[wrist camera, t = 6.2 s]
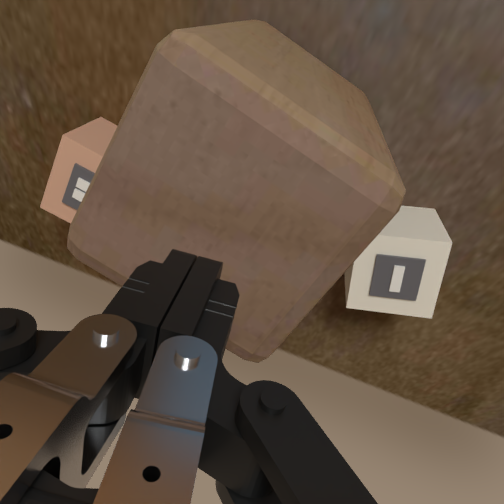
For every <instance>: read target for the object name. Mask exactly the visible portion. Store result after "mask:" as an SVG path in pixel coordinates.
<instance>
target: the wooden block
mask: <svg viewBox="0 0 504 504" xmlns="http://www.w3.org/2000/svg"><path fill="white" fill-rule="evenodd" d="M405 193H406V190H405V187H404V185H403V182H402V180H401V177H400V175H399V173H398V170H397V168H396V165H395V163H394V161H393V158H392V156H391V153H390V151H389V148H388V146H387V144H386V141H385V139H384V136H383V134H382V131H381V129H380V127H379V124H378V122H377V119H376V117H375V115H374V112H373V110H372V107H371V105H370V102H369V101H368V99H367V97H366V95H365V94H364V92H363V91H361V90H360V89H358V88H357V87H356V86H354V85H353V84H351V83H350V82H349V81H347V80H346V79H344V78H343V77H342V76H340V75H339V74H338V73H336V72H335V71H333V70H332V69H331V68H329V67H328V66H326V65H325V64H324V63H322V62H321V61H319V60H318V59H317V58H315V57H314V56H312V55H311V54H310V53H308V52H307V51H306V50H304V49H303V48H301V47H300V46H299V45H297V44H296V43H294V42H293V41H292V40H290V39H289V38H287V37H286V36H285V35H283V34H282V33H281V32H279V31H278V30H276V29H275V28H274V27H272V26H271V25H269V24H268V23H267V22H264V21H259V20H246V21H238V22H231V23H223V24H215V25H208V26H200V27H192V28H185V29H177V30H173V31H172V32H171V33H170V34H169V35H168V36H166V37H165V38H164V39H163V40H162V41H160V42H159V43H158V44H157V45H156V47H155V49H154V51H153V53H152V55H151V58H150V60H149V62H148V64H147V66H146V68H145V70H144V72H143V74H142V76H141V78H140V81H139V83H138V85H137V87H136V89H135V91H134V93H133V95H132V97H131V99H130V101H129V103H128V106H127V108H126V110H125V112H124V114H123V116H122V118H121V120H120V122H119V124H118V126H117V129H116V131H115V133H114V135H113V137H112V139H111V141H110V143H109V145H108V147H107V149H106V151H105V154H104V156H103V158H102V160H101V162H100V164H99V166H98V168H97V170H96V172H95V174H94V176H93V179H92V181H91V183H90V185H89V187H88V189H87V191H86V193H85V195H84V197H83V199H82V202H81V204H80V206H79V208H78V210H77V212H76V214H75V216H74V218H73V220H72V222H71V224H70V228H69V233H68V242H67V248H68V249H69V251H70V252H71V253H72V254H73V255H74V256H75V257H76V259H77V260H79V261H81V262H82V263H84V264H86V265H87V266H89V267H91V268H92V269H94V270H96V271H97V272H99V273H101V274H102V275H104V276H106V277H107V278H109V279H111V280H112V281H114V282H116V283H117V284H119V285H121V286H122V287H123V285H124V283H125V282H126V281H127V279H129V277H130V275H131V274H132V273H133V271H134V270H135V269H136V267H138V266H140V265H142V264H144V263H146V262H148V261H150V260H151V261H155V262H159V263H162V264H163V262H164V261H165V259H166V258H167V256H168V255H169V253H170V252H171V250H172V249H176V250H179V251H183V252H187V253H190V254H194V255H197V258H198V256H201V257H205V258H209V259H212V260H216V261H220V262H223V267H222V272H221V276H220V279H221V280H225V281H228V282H232V283H236V286H237V289H238V292H239V295H240V296H239V300H238V304H237V308H236V311H235V315H234V319H233V323H232V327H231V331H230V335H229V338H228V341H227V345H226V349H227V350H229V351H231V352H232V353H234V354H236V355H237V356H239V357H241V358H242V359H244V360H248V361H253V362H257V363H258V362H260V361H262V360H264V359H266V358H268V357H269V356H270V355H271V354H272V353H273V352H274V351H275V350H276V349H277V348H278V347H279V346H280V345H281V344H282V342H283V341H284V340H285V339H286V338H287V337H288V336H289V334H290V333H291V332H292V331H293V330H294V329H295V328H296V327H297V325H298V324H299V323H300V322H301V321H302V320H303V319H304V318H305V316H306V315H307V314H308V313H309V312H310V311H311V310H312V309H313V307H314V306H315V305H316V304H317V303H318V302H319V301H320V300H321V298H322V297H323V296H324V295H325V294H326V293H327V292H328V291H329V289H330V288H331V287H332V286H333V285H334V284H335V283H336V282H337V280H338V279H339V278H340V277H341V276H342V275H343V274H344V273H345V271H346V270H347V269H348V268H349V267H350V266H351V265H352V264H353V262H354V261H355V260H356V259H357V258H358V257H359V256H360V255H361V253H362V252H363V251H364V250H365V249H366V248H367V247H368V246H369V244H370V243H371V242H372V241H373V240H374V239H375V238H376V236H377V235H378V234H379V233H380V232H381V231H382V230H383V229H384V227H385V226H386V225H387V224H388V223H389V222H390V221H391V220H392V218H393V217H394V216H395V215H396V214H397V213H398V212H399V210H400V207H401V204H402V201H403V199H404V196H405Z"/></svg>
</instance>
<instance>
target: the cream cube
mask: <svg viewBox="0 0 504 504" xmlns="http://www.w3.org/2000/svg"><path fill="white" fill-rule="evenodd" d="M451 246H452V241H451V239H450V237H449V235H448V234H447V232H446V230H445V228H444V226H443V224H442V222H441V220H440V218H439V216H438V214H437V212H436V210H435V209H430V208H420V207H410V206H401V207H400V210H399V212H398V213H397V214H396V215H395V216H394V217H393V218H392V220H391V221H390V222H389V223H388V224H387V225H386V226H385V227H384V229H383V230H382V231H381V232H380V233H379V234H378V235H377V236H376V238H375V239H374V240H373V241H372V242H371V243H370V244H369V246H368V247H367V248H366V249H365V250H364V251H363V252H362V253H361V255H360V256H359V257H358V258H357V259H356V260H355V261H354V262H353V264H352V265H351V266H350V267H349V268H348V269H347V270H346V271H345V273H344V275H345V294H346V308H351V309H359V310H367V311H375V312H383V313H391V314H400V315H408V316H416V317H424V318H432V315H433V311H434V308H435V304H436V300H437V297H438V293H439V290H440V286H441V282H442V279H443V275H444V271H445V268H446V264H447V260H448V257H449V253H450V249H451Z"/></svg>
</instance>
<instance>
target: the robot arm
mask: <svg viewBox="0 0 504 504" xmlns="http://www.w3.org/2000/svg"><path fill="white" fill-rule="evenodd" d="M222 267H223V262H220V261H216V260H212V259H209V258H205V257H201V256H198V258H197V255H194V254H190V253H187V252H183V251H179V250H176V249H172V250H171V252H170V253H169V255H168V256H167V258H166V259H165V261H164V262H163V264H162V263H159V262H155V261H151V260H150V261H148V262H146V263H144V264H142V265H140V266H138V267H136V269H135V270H134V271H133V273H132V274H131V275H130V277H129V279H127V281H126V282H125V283H124V285H123V287H121V289H120V290H119V291H118V293H117V294H116V295H115V297H114V298H113V300H112V301H111V302H110V304H109V305H108V306H107V307H106V309H105V310H104V312H103V313H102V314H98V315H93V316H89V317H87V318H85V319H83V320H82V321H80V322H79V323H78V324H77V325H76V326H75V327H74V329H72V330H71V331H42V330H37V324H36V321H35V319H34V318H33V317H32V316H31V315H30V314H29V313H27V312H25V311H22V310H18V309H13V308H0V504H190V503H191V498H192V493H193V488H194V483H195V478H196V473H197V468H199V469H201V470H202V471H204V472H205V473H207V474H208V475H210V476H211V477H213V478H214V479H216V490H217V492H218V495H219V497H220V499H221V501H222V503H223V504H377V502H376V501H375V499H374V498H373V497H372V495H371V494H370V493H369V491H368V490H367V489H366V487H365V486H364V485H363V483H362V482H361V481H360V479H359V478H358V477H357V475H356V474H355V473H354V471H353V470H352V469H351V468H350V466H349V465H348V463H347V462H346V461H345V459H344V458H343V457H342V455H341V454H340V453H339V451H338V450H337V449H336V447H335V446H334V445H333V443H332V442H331V441H330V439H329V438H328V437H327V435H326V434H325V433H324V431H323V430H322V429H321V427H320V426H319V425H318V423H317V422H316V421H315V419H314V418H313V417H312V415H311V414H310V413H309V411H308V410H307V409H306V407H305V406H304V405H303V403H302V402H301V401H300V399H299V398H298V397H297V396H296V394H295V393H294V392H293V391H291V390H290V389H289V388H287V387H286V386H284V385H282V384H279V383H277V382H273V381H265V380H263V381H256V382H253V383H251V384H249V385H245V384H243V383H241V382H239V381H238V380H237V379H235V378H234V377H233V376H231V375H230V374H229V373H228V371H227V370H226V369H225V367H224V365H223V363H222V358H223V354H224V351H225V348H226V345H227V341H228V338H229V335H230V331H231V327H232V323H233V319H234V315H235V311H236V308H237V304H238V300H239V296H240V295H239V292H238V289H237V286H236V283H232V282H228V281H225V280H221V279H220V276H221V272H222ZM134 398H138V399H139V400H138V403H137V405H136V408H135V410H132V409H131V410H130V412H129V414H128V416H127V418H126V412H127V410H128V409H129V407H130V405H131V403H132V401H133V399H134ZM125 418H126V421H125ZM124 421H125V423H124ZM123 424H124V426H123ZM122 426H123V428H122V431H121V433H120V436H119V438H118V441H117V444H116V446H115V449H114V451H113V454H112V456H111V459H110V461H109V464H108V466H107V469H106V472H105V475H104V477H103V480H102V482H101V484H100V487H99V489H90V488H85V487H86V485H87V484H88V482H89V480H90V479H91V477H92V475H93V474H94V472H95V470H96V469H97V467H98V465H99V464H100V462H101V460H102V459H103V457H104V455H105V454H106V452H107V450H108V449H109V447H110V446H111V444H112V442H113V441H114V439H115V437H116V436H117V434H118V432H119V431H120V429H121V427H122Z"/></svg>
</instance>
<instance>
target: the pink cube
mask: <svg viewBox="0 0 504 504" xmlns="http://www.w3.org/2000/svg"><path fill="white" fill-rule="evenodd" d="M116 129H117V125H115V124H113V123H111V122H109V121H108V120H106V119H104V118H102V117H100V118H98V119H96V120H93V121H91V122H89V123H87V124H85V125H83V126H81V127H78V128H76V129H74V130H72V131H70V132H68V133H66V134H63V136H62V139H61V142H60V145H59V148H58V152H57V155H56V158H55V161H54V164H53V167H52V171H51V174H50V177H49V180H48V183H47V187H46V190H45V193H44V196H43V199H42V202H41V206H40V208H42V209H44V210H46V211H48V212H50V213H52V214H54V215H56V216H58V217H60V218H61V219H63V220H65V221H67V222H69V223H71V222H72V220H73V218H74V216H75V214H76V212H77V210H78V208H79V206H80V204H81V202H82V199H83V197H84V195H85V193H86V191H87V189H88V187H89V185H90V183H91V181H92V179H93V176H94V174H95V172H96V170H97V168H98V166H99V164H100V162H101V160H102V158H103V156H104V154H105V151H106V149H107V147H108V145H109V143H110V141H111V139H112V137H113V135H114V133H115V131H116Z"/></svg>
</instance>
